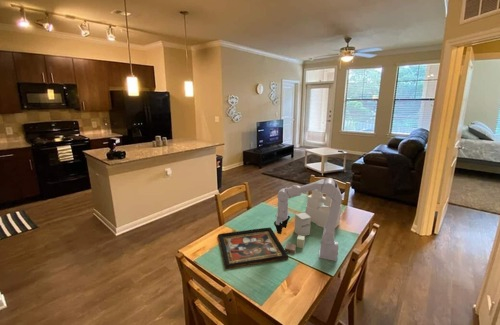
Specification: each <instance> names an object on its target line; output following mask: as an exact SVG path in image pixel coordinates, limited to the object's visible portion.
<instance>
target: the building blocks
mask: <svg viewBox="0 0 500 325" xmlns="http://www.w3.org/2000/svg"><path fill="white" fill-rule="evenodd" d="M324 195H325V196H324ZM306 199H307V200H306V206H305V212H304V213H306V214H307V215H309V216H310V217H311V223H314V224H315V225H316V226H317V227H318V226H319V227H321V228H323V229H324V228H325V227H326V224H327V220H328V216H329V212H330V207H331V203H332V199H331V198H330V197H329V196H328V195H326V194H325V193H323V191H321V192H320V191H318V190H312V191H311V194H309V195H308V196H307V198H306ZM342 208H343V206H342V204H341V205H340V210H339V214H338V218H337V222H336V226H335V229H336V228H337V227H338V226H340V224H341V215H342V214H341V213H342Z"/></svg>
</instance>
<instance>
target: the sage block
mask: <svg viewBox="0 0 500 325" xmlns="http://www.w3.org/2000/svg"><path fill="white" fill-rule="evenodd" d="M305 237H306V235H305V236H300V235H298V234H297V238H296V248H300V249H304V247H305V243H306V242H305V241H306V240H305V239H306V238H305Z"/></svg>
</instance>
